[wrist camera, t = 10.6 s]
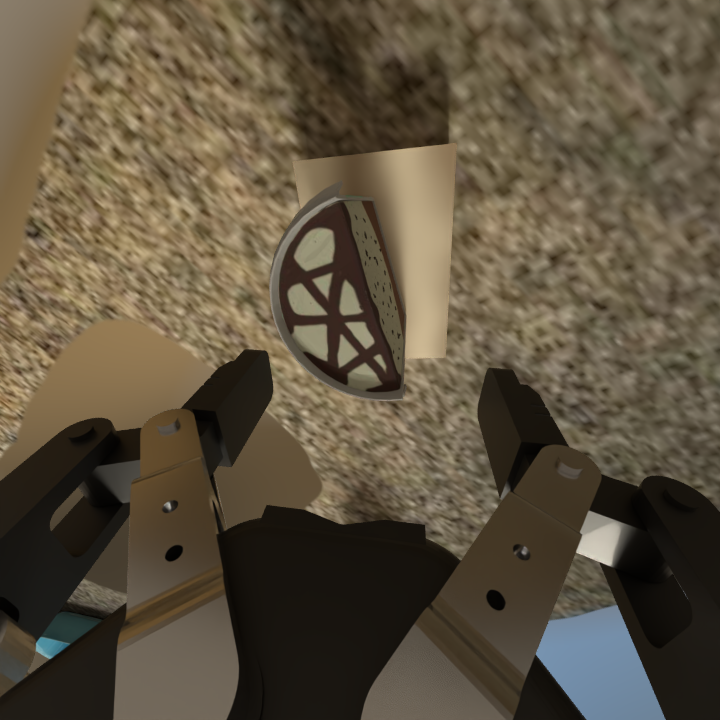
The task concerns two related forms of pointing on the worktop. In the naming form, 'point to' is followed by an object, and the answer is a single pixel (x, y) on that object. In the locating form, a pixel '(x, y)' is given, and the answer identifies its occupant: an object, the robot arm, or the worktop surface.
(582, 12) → the worktop surface
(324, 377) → the food container
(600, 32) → the worktop surface
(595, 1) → the worktop surface
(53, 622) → the casserole dish
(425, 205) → the maple block
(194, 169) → the worktop surface
